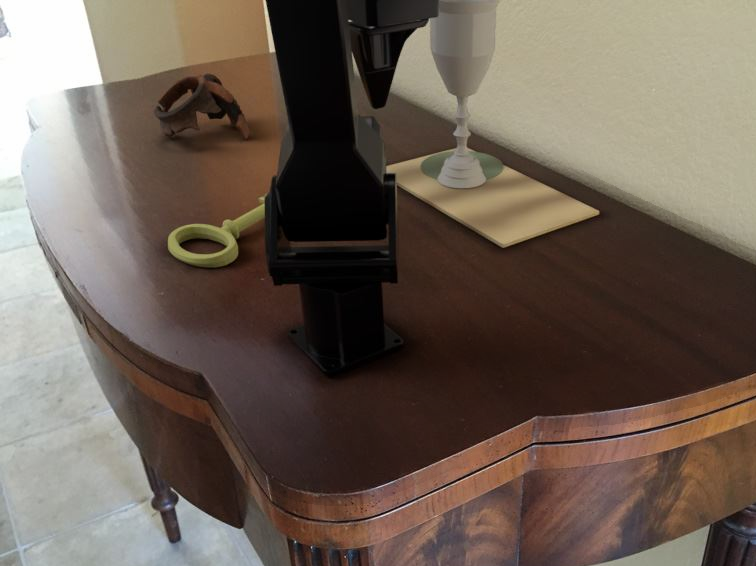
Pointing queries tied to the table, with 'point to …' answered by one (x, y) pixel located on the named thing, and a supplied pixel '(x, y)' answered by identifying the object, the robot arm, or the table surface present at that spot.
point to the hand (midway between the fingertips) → (349, 93)
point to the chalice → (463, 73)
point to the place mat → (492, 199)
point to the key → (214, 238)
